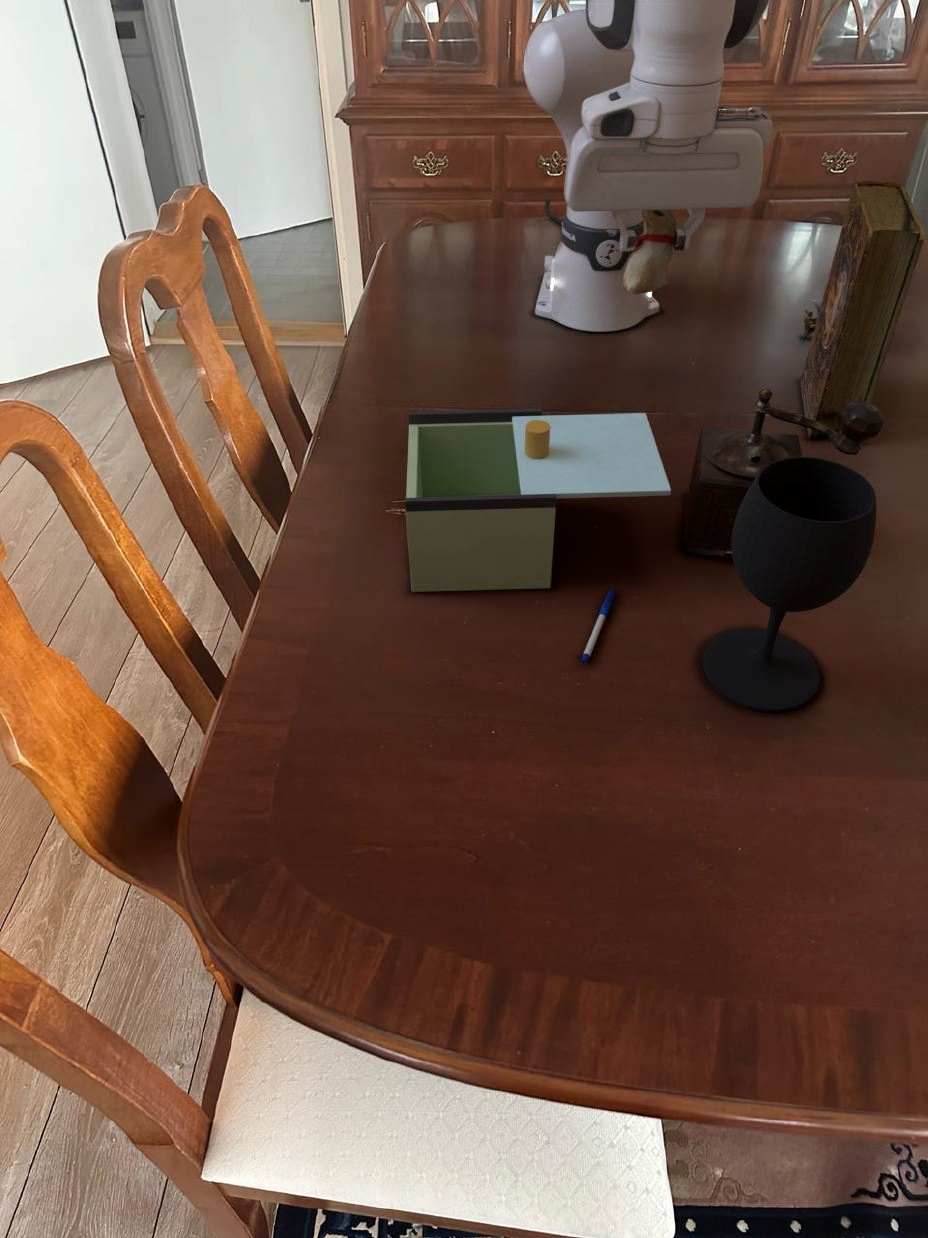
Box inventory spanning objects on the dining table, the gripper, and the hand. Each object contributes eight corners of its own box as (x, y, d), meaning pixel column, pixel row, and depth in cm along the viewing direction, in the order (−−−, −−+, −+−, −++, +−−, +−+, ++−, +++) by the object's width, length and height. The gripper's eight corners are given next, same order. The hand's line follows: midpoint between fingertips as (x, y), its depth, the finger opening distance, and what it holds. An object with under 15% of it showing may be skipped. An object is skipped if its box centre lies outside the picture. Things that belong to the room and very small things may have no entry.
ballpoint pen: (606, 591, 89) (607, 584, 88) (615, 593, 89) (616, 586, 88) (580, 664, 82) (581, 656, 81) (590, 666, 82) (591, 658, 81)
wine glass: (753, 729, 76) (812, 546, 63) (678, 653, 83) (716, 472, 69) (845, 686, 80) (919, 504, 66) (765, 616, 86) (818, 437, 73)
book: (799, 377, 120) (852, 179, 103) (842, 380, 119) (902, 181, 102) (808, 442, 109) (869, 231, 91) (855, 446, 108) (926, 234, 91)
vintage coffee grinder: (682, 556, 93) (712, 402, 81) (685, 495, 101) (713, 346, 89) (837, 574, 91) (892, 418, 78) (828, 510, 99) (877, 359, 86)
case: (414, 498, 101) (408, 411, 94) (537, 495, 102) (541, 407, 94) (411, 592, 90) (404, 501, 82) (550, 588, 90) (556, 497, 82)
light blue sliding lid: (512, 421, 94) (512, 390, 91) (645, 417, 94) (649, 386, 91) (521, 499, 84) (522, 467, 81) (670, 495, 84) (676, 463, 81)
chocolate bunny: (689, 280, 100) (702, 185, 93) (636, 298, 97) (645, 201, 90) (656, 265, 104) (666, 172, 97) (603, 281, 101) (610, 187, 94)
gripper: (767, 97, 91) (740, 235, 100) (567, 101, 90) (558, 239, 100) (785, 114, 86) (755, 258, 96) (574, 119, 86) (564, 262, 95)
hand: (653, 248), depth 98 cm, fingers closed on chocolate bunny, 4 cm apart
